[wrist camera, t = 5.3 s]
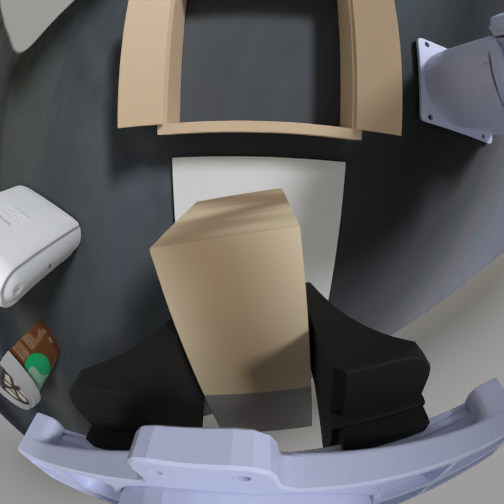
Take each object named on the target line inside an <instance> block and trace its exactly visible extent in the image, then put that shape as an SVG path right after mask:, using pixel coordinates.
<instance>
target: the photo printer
mask: <svg viewBox="0 0 504 504" xmlns="http://www.w3.org/2000/svg"><path fill="white" fill-rule="evenodd" d="M80 241H81V229H80V227H79V223H78V222H77V221H76V220H75V219H74V218H72V217H71V216H70V215H68V214H67V213H65V212H64V211H63V210H61V209H60V208H58V207H57V206H55V205H54V204H52V203H51V202H49V201H48V200H46V199H45V198H43V197H42V196H40V195H39V194H37V193H36V192H34V191H32V190H31V189H29V188H27V187H25V186H16V187H13V188H10V189H8V190H5V191H2V192H0V306H1V307H10V306H12V305H13V304H15V303H16V302H17V301H18V300H19V299H20V298H21V297H22V296H23V295H24V294H26V293H27V292H28V291H29V290H30V289H31V288H32V287H33V286H34V285H35V284H37V283H38V282H39V281H40V280H41V279H42V278H44V277H45V276H46V275H47V274H48V273H50V272H51V271H52V270H53V269H54V268H55V267H57V266H58V265H59V264H60V263H62V262H63V261H64V260H66V259H67V258H68V257H69V256H70V255H71V254H72V252H73V251H74V250H75V249H76V248H77V247H78V246H79V244H80Z"/></svg>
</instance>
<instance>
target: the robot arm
mask: <svg viewBox="0 0 504 504" xmlns="http://www.w3.org/2000/svg"><path fill="white" fill-rule="evenodd" d="M490 24H491V25H489V29H490V30H491V32H492V33H493V35H494V36H490V37H486V38H482V39H479V40H475V41H472V42H468V43H465V44H462V45H459V46H456V47H453V48H450V49H446V48H444V47H442V46H439V45H437V44H435V43H432V42H430V41H428V40H425V39H423V38H418V39H417V40H416V46H417V57H418V72H419V116H420V119H421V120H422V121H423V122H427V123H430V124H434V125H437V126H440V127H443V128H446V129H450V130H453V131H456V132H458V133H461V134H464V135H467V136H470V137H472V138H475V139H477V140H480V141H482V142H485V143H488V144H490V143H491V142H492V134H493V135H500V136H504V12H503V13H501V14H498V15H495V16H493V17H491V20H490ZM425 44H426V45H427V46H426V45H425ZM429 115H430V117H431V119H430V120H429V118H428V116H429ZM482 136H483V137H482ZM305 285H306V298H307V312H308V327H309V345H310V367H311V371H312V375H313V379H314V384H315V390H316V396H317V403H318V410H319V418H320V425H321V434H322V443H323V448H319V449H312V450H305V451H297V452H280V451H279V448H278V444H277V442H276V441H275V440H274V439H273V438H272V437H271V436H270V435H269V434H267V433H264V432H261V431H257V430H255V429H247V428H235V427H231V428H203V427H202V425H203V410H204V399H205V396H204V393H203V391H202V389H201V387H200V385H199V382H198V380H197V378H196V376H195V373H194V371H193V369H192V366H191V364H190V362H189V359H188V357H187V354H186V352H185V349H184V347H183V344H182V342H181V339H180V337H179V334H178V332H177V329H176V326H175V324H174V321H173V318H171V319H170V320H168V321H167V322H166V323H165V324H164V325H163V326H162V327H160V328H159V329H158V330H157V331H156V332H155V333H153V334H152V335H151V336H149V337H148V338H147V339H145V340H144V341H142V342H141V343H139V344H138V345H136V346H134V347H133V348H131V349H129V350H128V351H126V352H124V353H122V354H120V355H118V356H116V357H114V358H112V359H110V360H107V361H105V362H103V363H100V364H97V365H94V366H91V367H88V368H85V369H82V370H81V372H80V373H79V375H78V377H77V378H76V380H75V382H74V383H73V385H72V387H71V388H70V390H69V395H70V398H71V400H72V402H73V404H74V405H75V406H76V408H77V409H78V410H79V411H80V412H81V413H82V415H83V416H84V417H85V418H86V419H87V420H88V421H89V422H90V423H91V425H92V426H91V428H90V430H89V432H88V434H87V436H85V435H81V434H78V433H75V432H71V431H68V430H65V429H64V427H63V426H62V425H61V424H60V423H59V422H58V421H57V420H55V419H54V418H52V417H50V416H47V415H44V414H41V413H37V414H36V416H35V418H34V420H33V421H32V423H31V425H30V427H29V429H28V430H27V432H26V434H25V436H24V438H23V440H22V442H21V444H20V445H19V448H18V450H19V452H21V453H22V454H23V455H24V456H26V457H27V458H28V459H29V460H30V461H31V462H32V463H34V464H35V465H36V466H38V467H39V468H40V469H41V470H43V471H44V472H45V473H47V474H48V475H50V476H51V477H53V478H54V479H56V480H58V481H60V482H62V483H64V484H66V485H68V486H71V487H73V488H75V489H77V490H79V491H81V492H84V493H86V494H88V495H90V496H93V497H95V498H97V499H100V500H102V501H105V502H107V503H110V504H398V503H401V502H404V501H406V500H409V499H411V498H413V497H416V496H418V495H420V494H422V493H425V492H427V491H429V490H431V489H433V488H435V487H437V486H439V485H441V484H443V483H445V482H447V481H448V480H450V479H452V478H454V477H456V476H458V475H459V474H461V473H463V472H465V471H467V470H468V469H470V468H472V467H473V466H475V465H476V464H478V463H480V462H481V461H483V460H485V459H486V458H488V457H489V456H491V455H492V454H493V453H494V452H495V451H496V450H497V449H498V448H499V447H500V446H501V445H502V444H503V443H504V389H503V387H502V386H501V384H500V383H499V381H498V380H497V378H494V379H492V380H490V381H488V382H486V383H484V384H482V385H480V386H478V387H477V388H475V389H474V390H473V391H472V392H471V393H470V395H469V396H468V397H467V399H466V401H465V403H464V404H462V405H460V406H458V407H456V408H453V409H451V410H449V411H447V412H444V413H442V414H440V415H437V416H435V417H432V418H430V419H429V418H428V416H427V414H426V412H425V409H424V408H423V405H424V404H425V400H424V398H423V396H422V394H421V393H422V391H423V389H424V386H425V384H426V381H427V379H428V376H429V373H430V364H429V362H428V360H427V358H426V357H425V355H424V353H423V352H422V350H421V349H420V348H419V347H418V345H417V344H416V343H415V342H413V341H408V340H404V339H400V338H396V337H392V336H389V335H386V334H383V333H380V332H378V331H375V330H373V329H371V328H369V327H367V326H364V325H362V324H360V323H359V322H357V321H355V320H353V319H352V318H350V317H348V316H347V315H345V314H344V313H343V312H341V311H340V310H339V309H337V308H336V307H335V306H334V305H333V304H331V303H330V302H329V301H328V300H327V299H326V298H325V297H324V296H323V295H322V294H321V293H320V292H319V291H318V290H317V289H316V288H315V287H314V286H313V285H312V284H311V283H310V282H306V283H305Z"/></svg>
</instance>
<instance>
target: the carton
mask: <svg viewBox="0 0 504 504" xmlns="http://www.w3.org/2000/svg"><path fill="white" fill-rule="evenodd" d="M186 3H187V0H129V1H128V7H127V12H126V18H125V25H124V32H123V40H122V48H121V58H120V70H119V87H118V129H119V128H128V127H138V126H150V125H157V135H179V134H197V133H275V134H294V135H308V136H319V137H329V138H338V139H347V140H362V130H364V131H372V132H379V133H386V134H392V135H398V136H401V135H402V67H401V51H400V40H399V31H398V23H397V15H396V9H395V3H394V0H337V6H338V19H339V36H340V68H341V101H340V127H335V126H327V125H317V124H306V123H292V122H273V121H204V122H186V123H180V89H181V65H182V48H183V35H184V23H185V13H186Z"/></svg>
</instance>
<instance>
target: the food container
mask: <svg viewBox="0 0 504 504" xmlns="http://www.w3.org/2000/svg"><path fill="white" fill-rule="evenodd" d="M59 355H60V351H59V346H58V344H57V341H56V339H55V338H54V336H53V334H52V333H51V331H50V330H49V328H48V327H47V326H46V325H45V323H44V322H43V321H42V320H41V319H39V320H38V321H37V322H36V323H35V324H34V325H33V326H32V327H31V328H30V329H29V331H28V332H27V333H26V334H25V335H24V336H23V337H22V338H21V339H20V340H19V341H18V342H17V343H16V344H15V346H14V347H13V348H12V349H11V350H10V351H8V352H7V353H6V354H5V356H4V357H3V358H2V360H1V362H0V365H1V366H2V367H3V370H2V375H1V380H2V385H1V387H0V393H1V394H2V395H4V396H5V397H6V398H7V399H8V400H10V401H11V402H12V403H14V404H15V405H17V406H19V407H21V408H23V409H26V410H28V409H30V408H33V407H34V406H35V405H36V404H37V403H38V402H39V401H40V399H41V397H40V393H39V391H40V390H41V388H42V386H43V384H44V382H45V380H46V379H47V377H48V375H49V373H50V371H51V370H52V368H53V366H54V364H55V363H56V361H57V359H58V358H59Z"/></svg>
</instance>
